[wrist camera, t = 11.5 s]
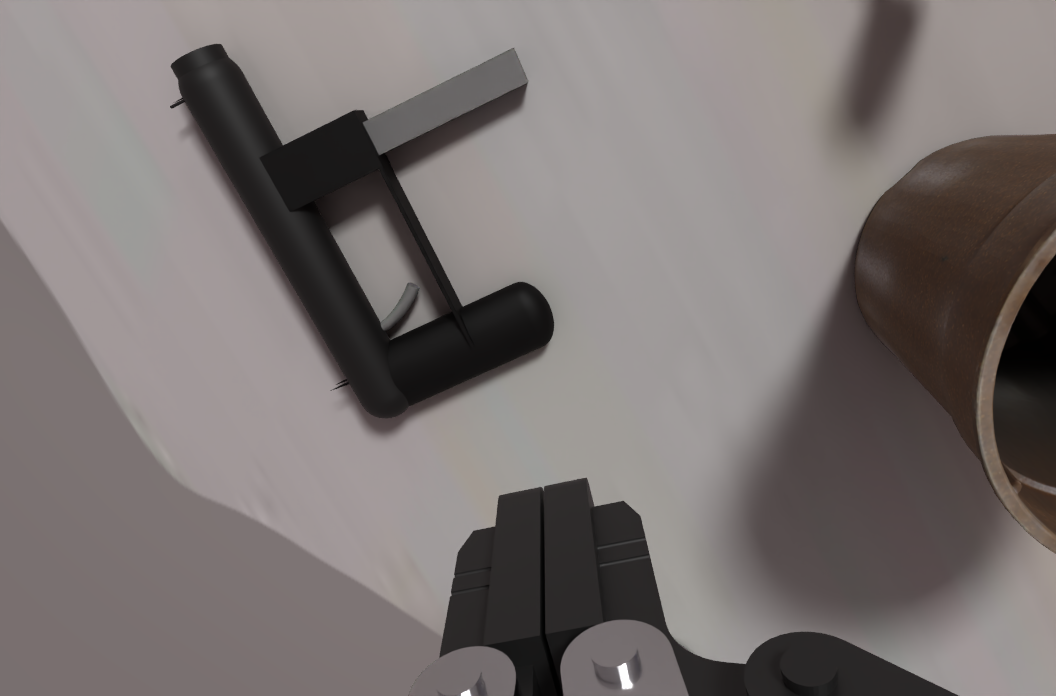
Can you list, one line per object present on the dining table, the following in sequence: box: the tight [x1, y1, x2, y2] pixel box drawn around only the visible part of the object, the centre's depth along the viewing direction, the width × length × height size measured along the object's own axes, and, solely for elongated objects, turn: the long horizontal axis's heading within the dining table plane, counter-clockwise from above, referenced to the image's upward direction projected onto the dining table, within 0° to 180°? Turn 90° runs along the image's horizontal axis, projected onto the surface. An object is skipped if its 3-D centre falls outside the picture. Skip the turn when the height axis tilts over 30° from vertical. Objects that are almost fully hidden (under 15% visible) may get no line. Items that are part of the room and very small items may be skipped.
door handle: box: [170, 44, 554, 418], centre depth 36 cm, size 3×20×16 cm
